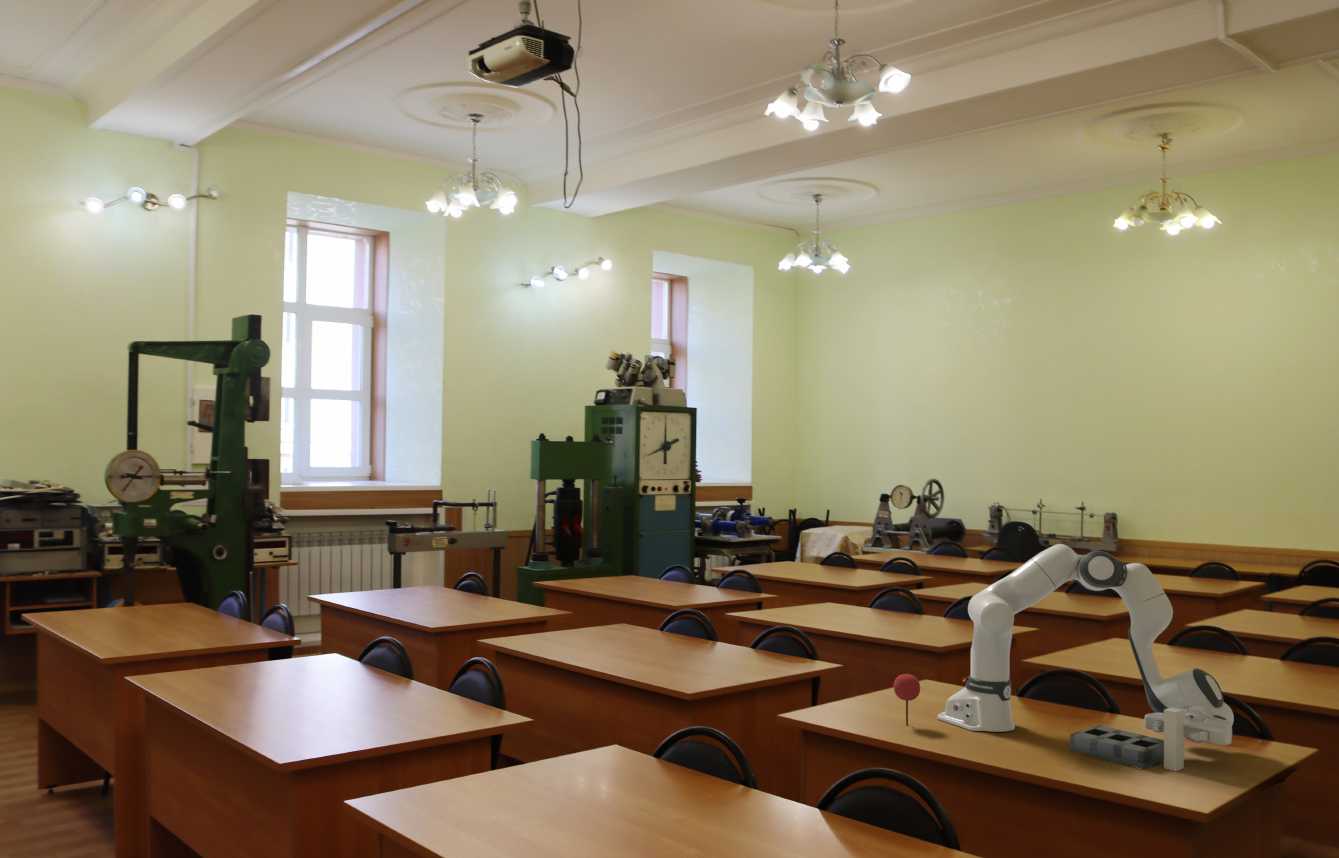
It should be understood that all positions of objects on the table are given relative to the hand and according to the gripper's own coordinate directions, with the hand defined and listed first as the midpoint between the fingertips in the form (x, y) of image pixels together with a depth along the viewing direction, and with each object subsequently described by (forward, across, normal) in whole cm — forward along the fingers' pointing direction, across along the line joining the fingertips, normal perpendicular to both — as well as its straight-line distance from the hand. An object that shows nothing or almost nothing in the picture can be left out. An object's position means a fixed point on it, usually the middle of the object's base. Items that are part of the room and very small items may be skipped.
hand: (1174, 732), depth 246 cm
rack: (0, -14, +9) cm, 17 cm away
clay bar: (0, 0, +9) cm, 9 cm away
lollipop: (+24, -66, +9) cm, 71 cm away
